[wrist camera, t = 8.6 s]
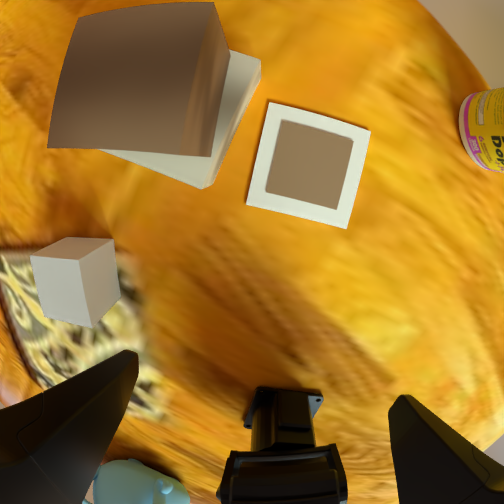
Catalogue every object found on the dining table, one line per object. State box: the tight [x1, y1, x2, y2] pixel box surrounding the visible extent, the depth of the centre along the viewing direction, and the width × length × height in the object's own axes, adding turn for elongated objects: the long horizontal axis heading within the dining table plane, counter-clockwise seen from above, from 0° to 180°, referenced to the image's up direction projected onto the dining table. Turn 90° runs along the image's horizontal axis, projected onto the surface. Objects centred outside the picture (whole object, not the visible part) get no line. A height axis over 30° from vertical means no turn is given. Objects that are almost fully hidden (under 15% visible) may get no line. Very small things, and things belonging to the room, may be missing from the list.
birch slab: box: [98, 50, 261, 189], centre depth 15 cm, size 8×8×4 cm
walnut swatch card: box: [246, 102, 371, 229], centre depth 17 cm, size 7×7×1 cm
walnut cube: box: [47, 2, 231, 157], centre depth 11 cm, size 6×6×6 cm
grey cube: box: [30, 237, 121, 328], centre depth 18 cm, size 5×5×5 cm
